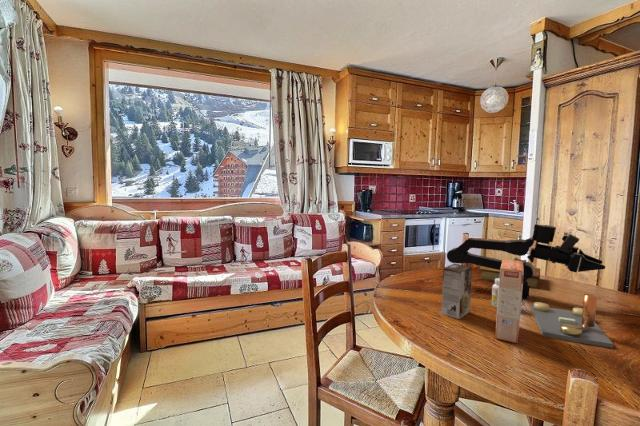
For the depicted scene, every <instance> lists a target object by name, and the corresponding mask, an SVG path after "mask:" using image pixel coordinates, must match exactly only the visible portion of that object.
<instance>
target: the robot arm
mask: <svg viewBox="0 0 640 426" xmlns="http://www.w3.org/2000/svg"><path fill="white" fill-rule="evenodd" d="M556 230H557V227H556V226H553V225H549V224H534V226H533V235H532V237H528V238H527V239H522V238H521V239H509V240H494V239H485V238H484V239H481V238H472V237H469V238H467V239H466V240H464V242H463V243H461V244H460V245H459V246H458V247H453V248H452V249H450V250H448V252H447V253H446V259H447V260H448V262H450V263H452V264H460V265H462V264H472V265H475V266H479V267H482V266H484V267H488V268H492V269H497V270H500V268H501V264H502V261H503V259H498V258H494V257H488V256H484V255H480V254H479V255H478V254H474V253H471V252H469V250H470V249H479V250H490V251H501V252H504V253H507V254H510V255H516V256H520V257H521V256H526V255H527V254H528V253H530V254H529V255H527V257H526V258H527V259H528V260H529V261H530V262H528V261H527V259H520V258H517V257H514V259H513V260H516V261H522V262H523V270H524V275H523V289H522V299H526V300H527V299H529V296H530V289H531V288H530V286H529V284H528V281H527V279H529V278H531V277H532V275H533V273H534V268H535V267H534V265H533V264H532V263H534V262H535V259H538V260H543V261H546V262H547V261H548V262H551V264H559V265H560V264H561V265H565V267H566V268H567V269H568V271H569V272H573V273H580V272H581V273H582V272H588V271H597V270H605V269H606V265H604V264H603V260H601V259H599V258H597V257H593V256H590V255H588V254H586V253H584V251H583V250H582V249H581V248H580V247H577V246H575V245H576V244H578V243H579V241H580V238H579V237H577V236H575V235H573V234H571V233H569V234H568V235H563V236H562V238H561V241H562V244H560V245H555V246H552V245H550V243H553V242H554V238H555V235H556ZM535 241H536V242H535ZM534 243H535V245H534ZM533 246H534V247H533ZM529 251H530V252H529Z"/></svg>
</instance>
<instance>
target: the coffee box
mask: <svg viewBox="0 0 640 426" xmlns="http://www.w3.org/2000/svg"><path fill="white" fill-rule="evenodd" d="M472 268H473V267H472V266H467V265H464V264H460V263H452V264H450V265H447V266H445V267H443V273H442V298H441V315H445V316H448V317H451V318H453V319H458V320H460V319H462V318H463V317H464V316H466V315H467V314H468V313H470V312H471V295H472V294H471V293H472V273H473V272H472V270H473V269H472Z"/></svg>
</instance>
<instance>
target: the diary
mask: <svg viewBox="0 0 640 426" xmlns="http://www.w3.org/2000/svg"><path fill="white" fill-rule="evenodd" d="M479 271H480V272H481V273H480V277H478V279H479V280H480V279H483V280H482V281H486V280H488V281H487V282H492V281H494V282H493V283H495V279H496V278H500V270H497V269H492V268H488V267H484V266H480V268H479ZM540 280H541V268H539V267H534V273H533V275H532V277H531V278H529V279H527V281H528V284H529V286H530V288H529V289H537V290H539V285H540Z"/></svg>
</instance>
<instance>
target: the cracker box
mask: <svg viewBox="0 0 640 426" xmlns="http://www.w3.org/2000/svg"><path fill="white" fill-rule="evenodd" d="M502 260H503V261H502V264H501V268H500V278H499V291H498V305H497V307H496V321H495V338H494V339H496V340H501V341H505V342H509V343H513V344H518V343H519V342H518V340H519V333H520V332H519V331H520V323H521V310H522V301H523V300H522V299H523V298H522V289H523V275H524V270H523V262H522V261H516V260H514V259H502Z"/></svg>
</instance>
